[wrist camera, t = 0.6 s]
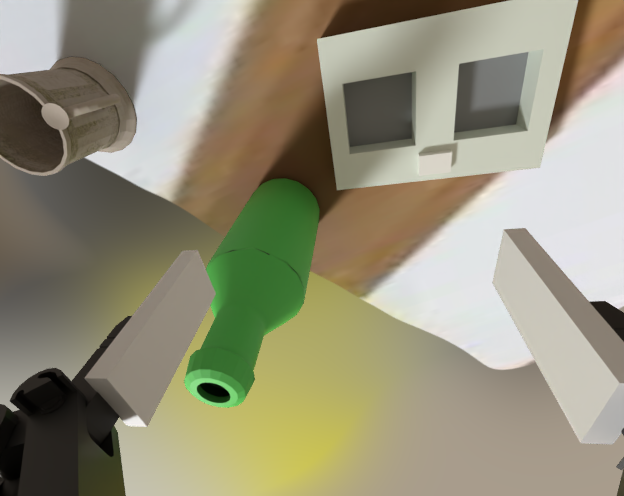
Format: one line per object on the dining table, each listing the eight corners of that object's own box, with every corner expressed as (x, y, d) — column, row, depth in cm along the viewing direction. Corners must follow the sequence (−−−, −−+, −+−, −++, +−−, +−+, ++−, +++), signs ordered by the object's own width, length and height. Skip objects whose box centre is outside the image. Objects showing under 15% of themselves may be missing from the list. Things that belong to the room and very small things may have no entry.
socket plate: (319, 38, 30) (315, 39, 27) (559, -10, 26) (588, -16, 23) (338, 179, 37) (336, 193, 34) (526, 157, 34) (544, 170, 30)
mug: (84, 159, 39) (-6, 201, 29) (28, 71, 34) (-104, 86, 24) (186, 132, 36) (123, 169, 26) (140, 31, 31) (40, 29, 21)
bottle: (241, 184, 39) (114, 353, 18) (308, 167, 37) (250, 337, 16) (266, 243, 43) (188, 432, 23) (328, 231, 41) (302, 427, 21)
